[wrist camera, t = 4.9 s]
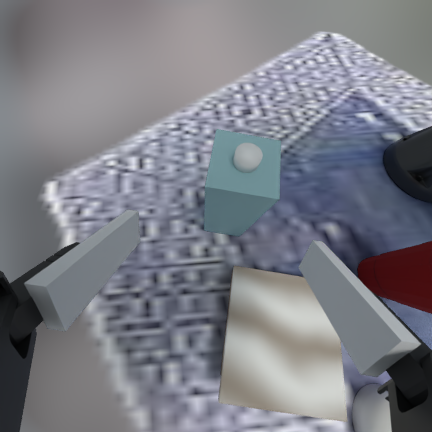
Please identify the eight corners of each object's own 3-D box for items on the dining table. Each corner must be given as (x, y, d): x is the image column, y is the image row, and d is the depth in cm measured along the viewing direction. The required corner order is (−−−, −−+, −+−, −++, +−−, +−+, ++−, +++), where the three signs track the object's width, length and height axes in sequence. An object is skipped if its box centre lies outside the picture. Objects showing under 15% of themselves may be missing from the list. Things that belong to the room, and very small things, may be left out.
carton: (210, 198, 29) (217, 119, 13) (242, 204, 29) (286, 131, 14) (204, 230, 27) (204, 179, 12) (239, 236, 27) (285, 193, 12)
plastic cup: (338, 299, 25) (453, 324, 13) (344, 235, 28) (439, 212, 17) (407, 326, 24) (586, 376, 13) (404, 258, 28) (544, 250, 16)
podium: (229, 266, 25) (234, 265, 21) (315, 280, 25) (335, 282, 22) (216, 378, 20) (218, 403, 17) (321, 394, 21) (347, 422, 17)
